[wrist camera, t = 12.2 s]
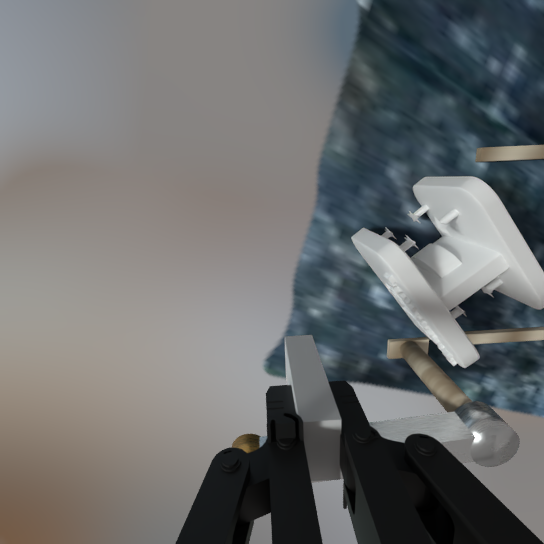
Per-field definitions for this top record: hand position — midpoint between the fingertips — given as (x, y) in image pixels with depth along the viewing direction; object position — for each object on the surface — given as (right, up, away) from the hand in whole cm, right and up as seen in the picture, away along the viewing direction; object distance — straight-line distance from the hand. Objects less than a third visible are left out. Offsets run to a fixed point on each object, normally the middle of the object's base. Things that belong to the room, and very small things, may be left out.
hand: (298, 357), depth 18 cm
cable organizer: (+15, +7, +21) cm, 27 cm away
